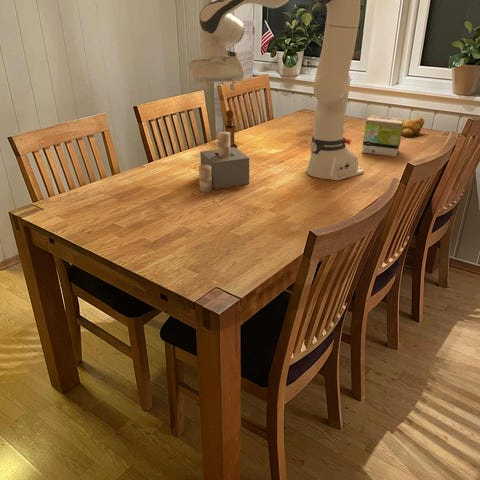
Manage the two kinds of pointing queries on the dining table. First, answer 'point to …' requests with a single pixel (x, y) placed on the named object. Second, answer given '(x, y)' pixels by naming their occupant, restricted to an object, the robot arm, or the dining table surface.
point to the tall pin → (224, 144)
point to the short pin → (205, 178)
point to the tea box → (382, 135)
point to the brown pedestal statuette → (230, 128)
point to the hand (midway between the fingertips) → (220, 90)
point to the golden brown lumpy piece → (412, 127)
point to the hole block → (227, 168)
